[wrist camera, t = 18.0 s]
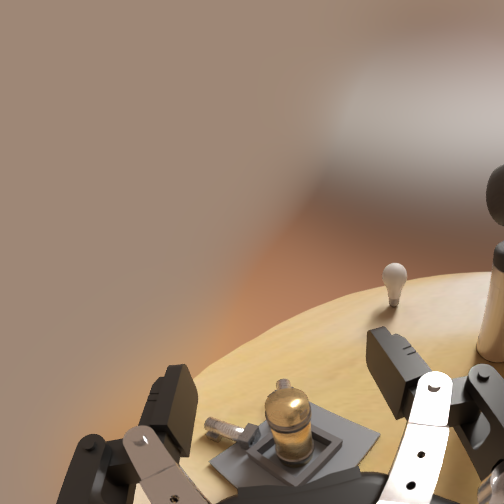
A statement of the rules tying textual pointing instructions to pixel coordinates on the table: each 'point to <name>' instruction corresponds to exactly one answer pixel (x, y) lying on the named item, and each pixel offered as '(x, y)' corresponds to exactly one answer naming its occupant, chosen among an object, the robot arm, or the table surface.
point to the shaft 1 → (232, 432)
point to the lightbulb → (394, 281)
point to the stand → (322, 463)
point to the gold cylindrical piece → (290, 426)
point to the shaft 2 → (283, 384)
